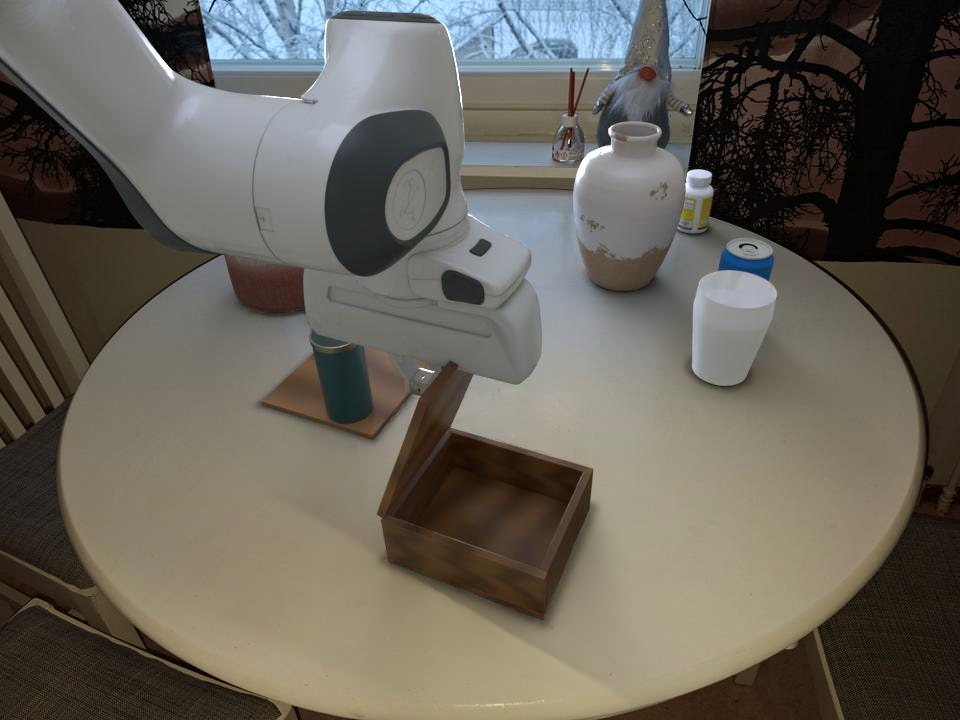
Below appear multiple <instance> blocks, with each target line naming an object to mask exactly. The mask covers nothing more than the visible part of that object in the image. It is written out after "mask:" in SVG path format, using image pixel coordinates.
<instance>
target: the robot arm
mask: <svg viewBox="0 0 960 720" xmlns="http://www.w3.org/2000/svg"><path fill="white" fill-rule="evenodd" d="M324 63H325V64H324V66H323V68H322V70H321V72H320V74H319V75H318V77H317V79H316V81H315V82H314V83H313V84H312V86H311V87H309V88H308V90H306V92H304V93H302V95H300V98H291V97H280V96H272V95H271V96H270V95H259V94H250V93H249V94H248V93H239V92H233V91H227V90H223V89H218V88H216V87H212V86H208V85H205V84H202V83H198V82H197V81H194V80H191V79H188V78H187V77H185V76H183V75H181V74H180V73H177V72H176V71H174V70H173V69H171V67H169V66H168V64H167V63H166V62H165V61H164V60H163V58H162V57H161V56H160V54H159V52H157V50H156V49H155V48H154V46H153V44H152V43H151V42H150V40H148V38H147V36H145V33H143V32H142V30H141V29H140V27H139V26H138V25H137V24H136V22H135V21H134V20H133V18H132V17H131V16H130V14H129V13H128V12H127V10H126V9H125V8H124V6H123V5H122V3H120V1H119V0H0V71H1V73H3V74H4V75H5V76H6V77H7V78H8V79H9V80H11V81H12V82H13V83H14V84H15V85H16V86H17V87H18V88H19V89H21V91H23V92H24V94H26V95H27V96H28V97H29V98H30V99H32V100H33V101H34V102H35V103H36V104H37V105H38V106H39V107H40V108H41V109H42V110H43V111H44V112H46V113H47V114H48V115H49V116H50V117H51V118H52V119H54V120H55V122H56V123H58V124H59V125H60V126H61V127H62V128H63V129H65V131H67V132H68V133H69V134H70V135H71V136H72V137H73V138H74V139H75V140H76V141H77V142H78V143H79V144H81V145H82V146H83V147H84V148H85V150H87V152H89V153H90V155H91V156H92V157H93V158H94V159H95V160H96V162H97V163H98V164H99V165H100V167H101V168H102V169H103V171H104V172H105V174H106V175H107V177H108V178H109V180H110V181H111V183H112V185H113V186H114V188H115V189H116V192H117V193H118V194H119V195H120V197H121V199H122V201H123V202H124V204H125V206H126V207H127V209H128V210H129V212H130V213H131V215H132V216H133V217H134V219H135V220H136V221H137V223H138V224H139V225H140V226H141V227H142V229H143V230H144V231H145V232H146V233H147V234H148V235H149V236H150V237H152V238H153V239H154V240H155V241H157V242H159V243H160V244H162V245H164V246H165V247H168V248H169V249H172V250H176V251H179V252H184V253H193V254H206V255H207V254H208V255H216V256H224V255H231V256H237V257H242V258H248V259H253V260H258V261H264V262H269V263H275V264H280V265H286V266H291V267H297V268H304V274H303V290H304V303H305V310H304V311H305V317H306V322H307V323H308V325H309V326H310V328H311V330H312V329H313V330H314V331H315V332H316V333H317V334H318V335H321V336H325V337H329V338H333V339H337V340H341V341H344V342H348V343H352V344H356V345H360V346H364V347H368V348H372V349H376V350H380V351H384V352H388V353H389V360H390V361H391V363H392V364H393V366H394V367H395V368H396V370H397V371H398V372H399V374H400V375H401V376H402V378H404V384H405V391H406V392H407V393H411V395H415V396H419V397H420V396H421V395H422V394H423V393H424V391H425V390H426V389H427V388H428V387H429V385H430V384H431V383H432V382H433V380H434V379H435V378H436V377H437V376H438V374H439V373H440V372H441V371H442V369H443V368H444V367H445V366H446V364H447V363H448V362H449V361H452V362H454V363H456V364H457V365H458V368H457V370H459V371H463V372H467V373H471V374H474V375H476V376H479V377H482V378H486V379H490V380H493V381H494V380H495V381H499V382H503V383H506V384H510V385H516V386H518V385H520V384H522V383H523V382H525V381H526V380H527V379H528V378H529V377H530V376H531V375H532V374H533V372H534V370H535V369H536V367H537V365H538V363H539V362H540V359H541V356H542V353H543V351H542V350H543V333H542V331H543V330H542V317H541V308H540V302H539V298H538V294H537V292H536V290H535V288H534V286H533V285H532V283H531V282H530V281H529V280H528V279H527V278H526V276H527V274H528V272H529V270H530V268H531V265H532V251H531V249H530V248H529V247H528V246H527V245H526V244H525V243H522V242H521V241H519V240H518V239H515V238H513V237H510V236H509V235H507V234H504V233H503V232H500V231H499V230H496V229H494V228H493V227H491V226H489V225H487V224H486V223H484V222H482V221H480V220H479V219H478V218H476V217H474V216H473V215H471V214H469V209H468V201H467V197H466V194H465V192H464V189H463V186H462V180H461V176H462V175H461V174H462V173H461V171H462V165H463V161H464V159H465V151H466V146H465V145H466V143H465V123H464V113H463V103H462V102H463V101H462V91H461V86H460V79H459V72H458V66H457V61H456V56H455V52H454V47H453V43H452V39H451V37H450V33H449V29H448V28H447V26H446V25H445V24H444V23H443V22H441V21H440V20H438V19H437V18H436V17H434V16H432V15H430V14H427V13H423V12H404V11H403V12H397V11H378V10H375V11H373V10H355V9H354V10H353V9H351V10H344V11H339V12H337V13H336V14H334V15H332V16H330V17H329V18H327V20H326V22H325V31H324ZM416 360H419V361H423V362H427V368H428V370H430V371H428V370H425V369H421V368H420V366H419V365H418V363H417V361H416Z"/></svg>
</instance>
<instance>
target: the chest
mask: <svg viewBox="0 0 960 720" xmlns="http://www.w3.org/2000/svg"><path fill="white" fill-rule="evenodd" d="M593 478H594V468H593V467H590V466H587V465H584V464H583V465H582V464H579V463H576V462H572V461H569V460H565V459H562V458H559V457H556V456H552V455H548V454H546V453H545V454H544V453H541V452H539V451H535V450H531V449H528V448H525V447H522V446H521V447H520V446H518V445H515V444H510V443H507V442H504V441H500V440H496V439H493V438H490V437H486V436H484V435H479V434H476V433H473V432H469V431H466V430H462V429H459V428H456V427H452V426H450V428H449V429H448V431H447V432H446V433H445V435H444V436H443V437H442V439H441V440H440V442H439V443H438V444H437V446H436V447H435V449H434V450H433V451H432V453H431V454H430V456H429V457H428V458H427V460H426V461H425V462H424V464H423V465H422V467H421V468H420V469H419V471H418V472H417V474H416V475H415V476H414V478H413V479H412V480H411V482H410V483H409V485H408V486H407V487H406V489H405V490H404V492H403V493H402V494H401V496H400V497H399V499H398V500H397V501H396V503H395V504H394V505H393V507H392V508H391V510H390V511H389V512H388V514H387V515H386V517H385V518H384V519H383V518H381V520H380V524H381V530H382V531H381V532H382V535H383V541H384V547H385V553H386V559H387V561H388V562H390V563H393V564H395V565H397V566H399V567H403V568H406V569H407V570H410V571H413V572H416V573H419V574H421V575H423V576H426V577H429V578H432V579H433V580H437V581H439V582H443V583H445V584H448V585H450V586H453V587H455V588H457V589H459V590H463V591H465V592H468V593H471V594H473V595H475V596H479V597H481V598H484V599H485V600H488V601H492V602H493V603H497V604H499V605H502V606H504V607H507V608H510V609H512V610H515V611H518V612H520V613H523V614H525V615H528V616H531V617H533V618H536V619H539V620H542V621H543V620H544V618H545V616H546V614H547V611H548V609H549V607H550V604H551V602H552V600H553V597H554V595H555V592H556V590H557V588H558V586H559V584H560V581H561V578H562V576H563V573H564V571H565V569H566V567H567V565H568V562H569V560H570V557H571V554H572V553H573V550H574V547H575V545H576V543H577V540H578V538H579V536H580V533H581V531H582V528H583V526H584V524H585V521H586V519H587V516H588V514H589V512H590V510H591V499H592V491H593V490H592V489H593V480H594V479H593Z"/></svg>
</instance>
